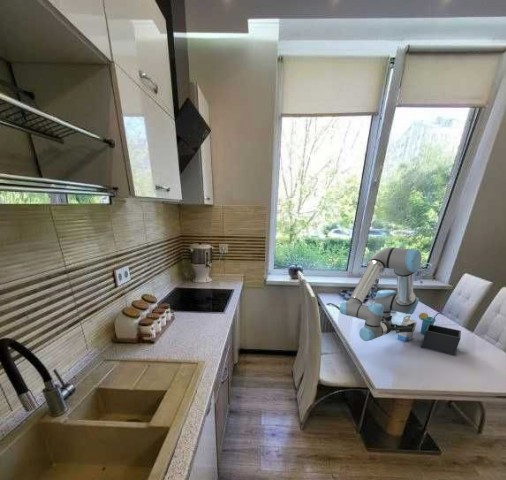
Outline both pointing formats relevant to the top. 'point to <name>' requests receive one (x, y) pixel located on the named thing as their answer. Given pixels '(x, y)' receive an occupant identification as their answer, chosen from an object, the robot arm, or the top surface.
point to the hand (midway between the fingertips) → (402, 321)
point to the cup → (427, 321)
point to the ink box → (407, 335)
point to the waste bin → (441, 339)
